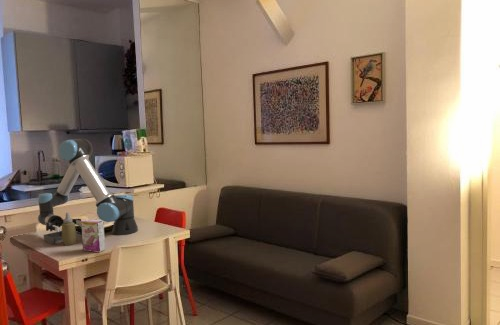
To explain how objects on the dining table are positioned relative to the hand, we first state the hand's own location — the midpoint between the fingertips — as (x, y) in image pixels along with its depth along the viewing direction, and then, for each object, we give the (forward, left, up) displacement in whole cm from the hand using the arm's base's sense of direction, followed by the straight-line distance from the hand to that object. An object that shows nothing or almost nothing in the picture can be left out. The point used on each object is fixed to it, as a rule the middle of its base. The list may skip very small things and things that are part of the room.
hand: (70, 226), depth 237 cm
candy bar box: (-20, +5, -11) cm, 24 cm away
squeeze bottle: (+3, -1, -11) cm, 11 cm away
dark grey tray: (+15, -6, -10) cm, 19 cm away
